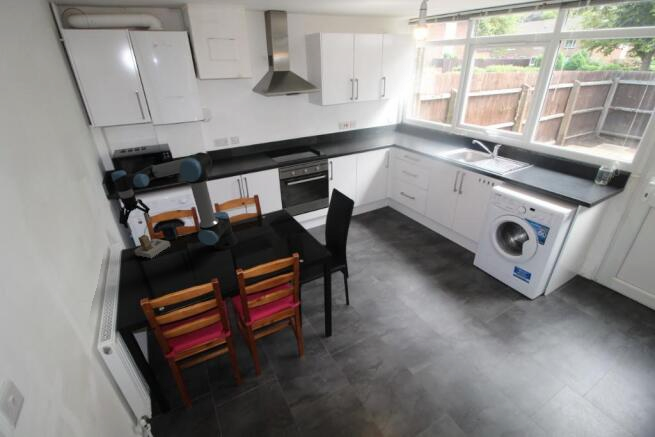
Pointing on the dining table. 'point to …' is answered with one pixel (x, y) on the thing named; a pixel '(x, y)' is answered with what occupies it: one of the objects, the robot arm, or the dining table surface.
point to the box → (169, 231)
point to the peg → (145, 243)
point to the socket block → (153, 248)
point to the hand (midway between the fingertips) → (139, 226)
